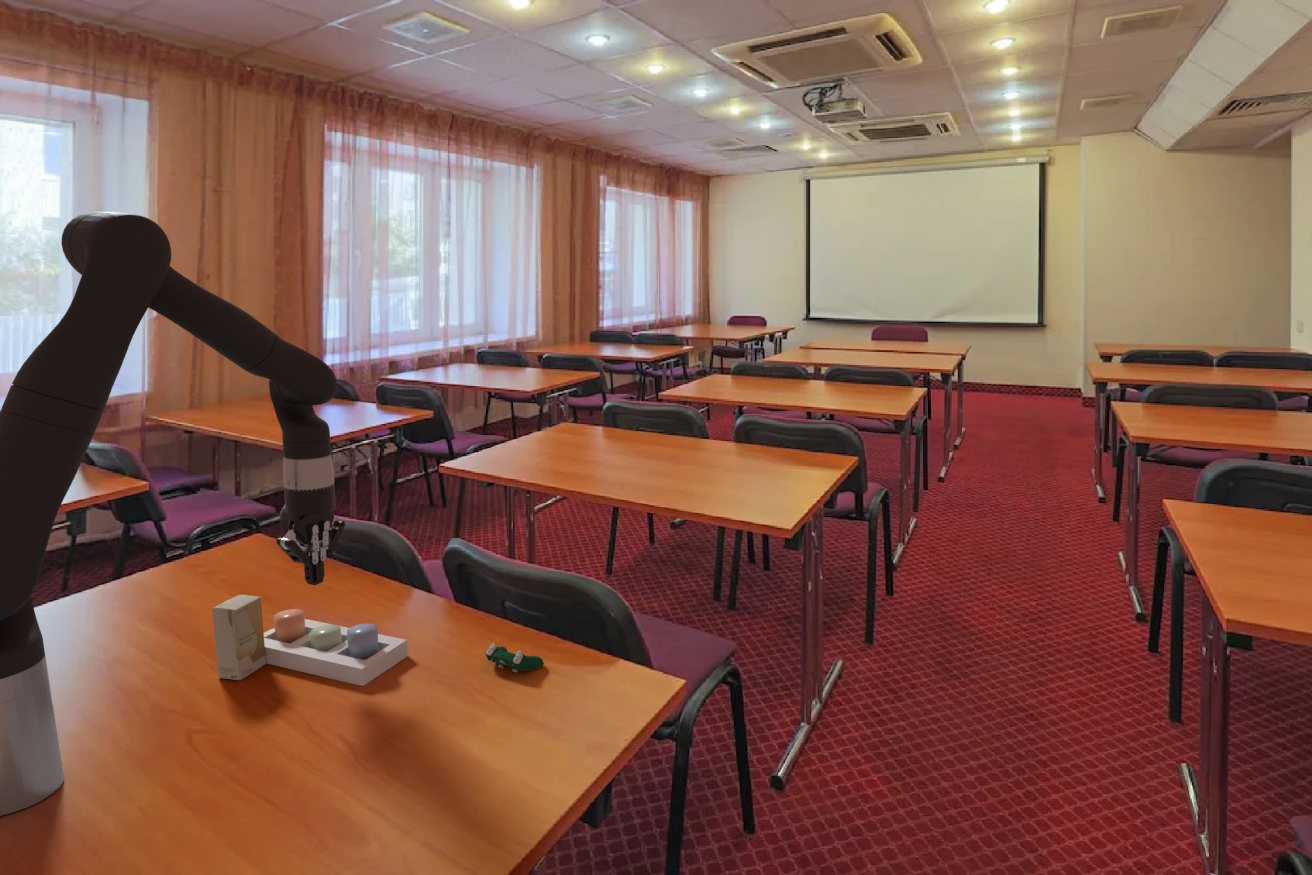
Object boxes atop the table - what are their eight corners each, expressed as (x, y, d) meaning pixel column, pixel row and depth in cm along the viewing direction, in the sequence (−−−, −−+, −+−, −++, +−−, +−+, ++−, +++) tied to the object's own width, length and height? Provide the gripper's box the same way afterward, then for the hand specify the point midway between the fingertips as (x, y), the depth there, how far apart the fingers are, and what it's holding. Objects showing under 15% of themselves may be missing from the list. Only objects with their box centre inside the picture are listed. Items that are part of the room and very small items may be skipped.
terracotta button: (290, 644, 128) (288, 622, 128) (269, 639, 130) (267, 617, 129) (312, 632, 133) (310, 611, 132) (291, 628, 134) (289, 607, 134)
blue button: (365, 660, 123) (363, 638, 122) (341, 655, 125) (340, 633, 124) (385, 648, 127) (383, 626, 127) (362, 643, 129) (361, 621, 128)
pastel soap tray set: (362, 686, 120) (361, 668, 119) (246, 658, 128) (244, 642, 128) (407, 655, 130) (406, 639, 129) (297, 632, 138) (295, 616, 138)
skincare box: (240, 681, 121) (233, 610, 118) (217, 678, 122) (209, 608, 119) (268, 663, 127) (262, 595, 125) (246, 660, 128) (239, 592, 125)
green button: (327, 660, 126) (325, 638, 125) (305, 655, 128) (303, 633, 127) (348, 648, 130) (346, 627, 130) (326, 643, 132) (325, 622, 131)
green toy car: (494, 669, 130) (477, 657, 125) (503, 648, 131) (487, 635, 127) (537, 682, 125) (521, 670, 121) (546, 660, 127) (530, 648, 123)
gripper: (295, 494, 115) (301, 600, 118) (356, 476, 127) (361, 573, 130) (257, 489, 117) (265, 593, 120) (321, 472, 129) (327, 567, 132)
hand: (315, 582), depth 125 cm, fingers closed
